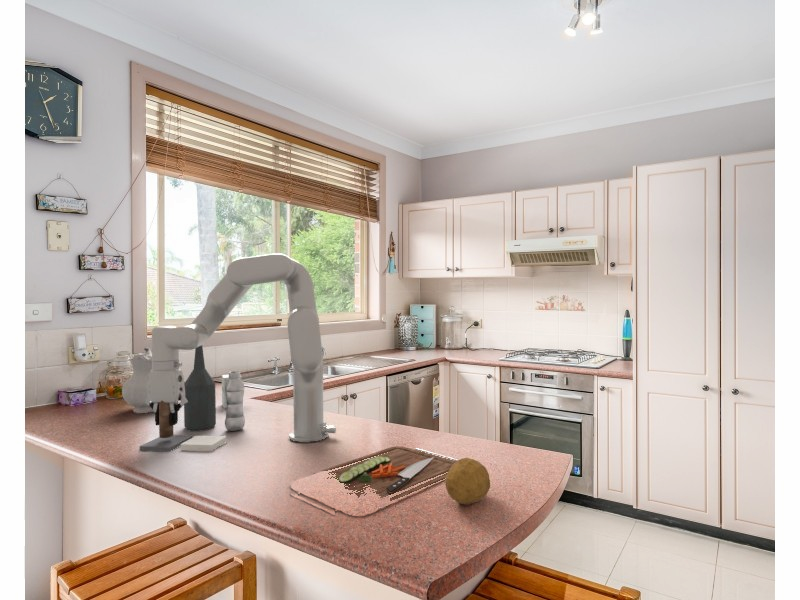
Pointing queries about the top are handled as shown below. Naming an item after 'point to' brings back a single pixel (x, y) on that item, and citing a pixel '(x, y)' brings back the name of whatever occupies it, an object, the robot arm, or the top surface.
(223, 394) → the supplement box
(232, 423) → the plastic bottle
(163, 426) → the dowel
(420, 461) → the chopping board
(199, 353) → the bottle
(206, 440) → the tile
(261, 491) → the top surface
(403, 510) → the top surface
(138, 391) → the ceramic pitcher
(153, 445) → the mat
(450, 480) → the potato
